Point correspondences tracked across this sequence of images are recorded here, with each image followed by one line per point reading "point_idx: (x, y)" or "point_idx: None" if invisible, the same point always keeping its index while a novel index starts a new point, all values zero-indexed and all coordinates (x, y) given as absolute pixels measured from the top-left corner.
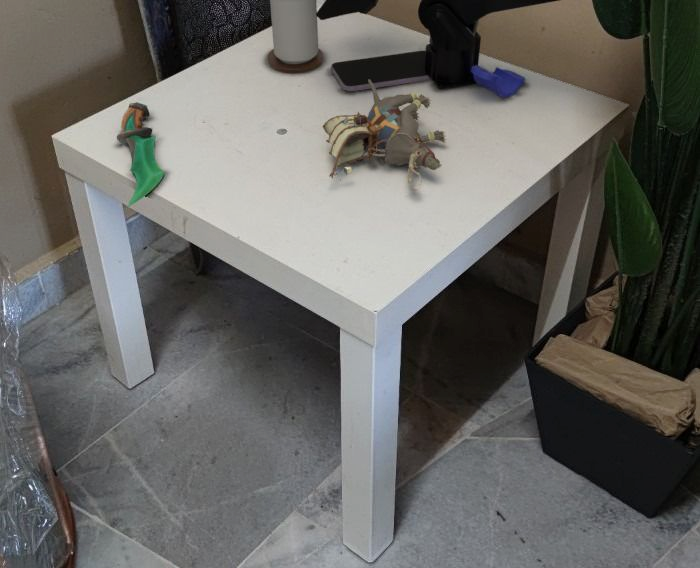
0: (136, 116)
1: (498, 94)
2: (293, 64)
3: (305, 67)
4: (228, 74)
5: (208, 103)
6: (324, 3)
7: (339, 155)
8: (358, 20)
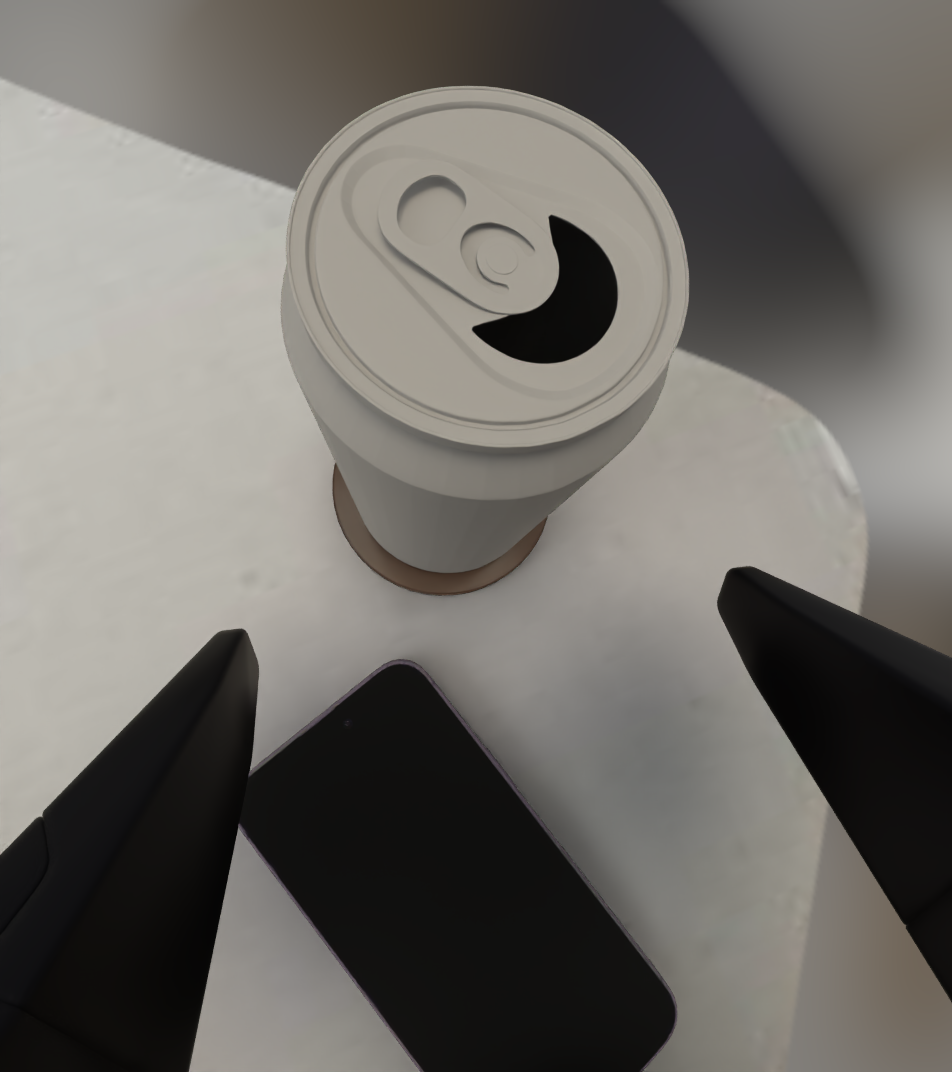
0: None
1: None
2: None
3: (367, 556)
4: (263, 301)
5: (33, 308)
6: (95, 758)
7: None
8: None
